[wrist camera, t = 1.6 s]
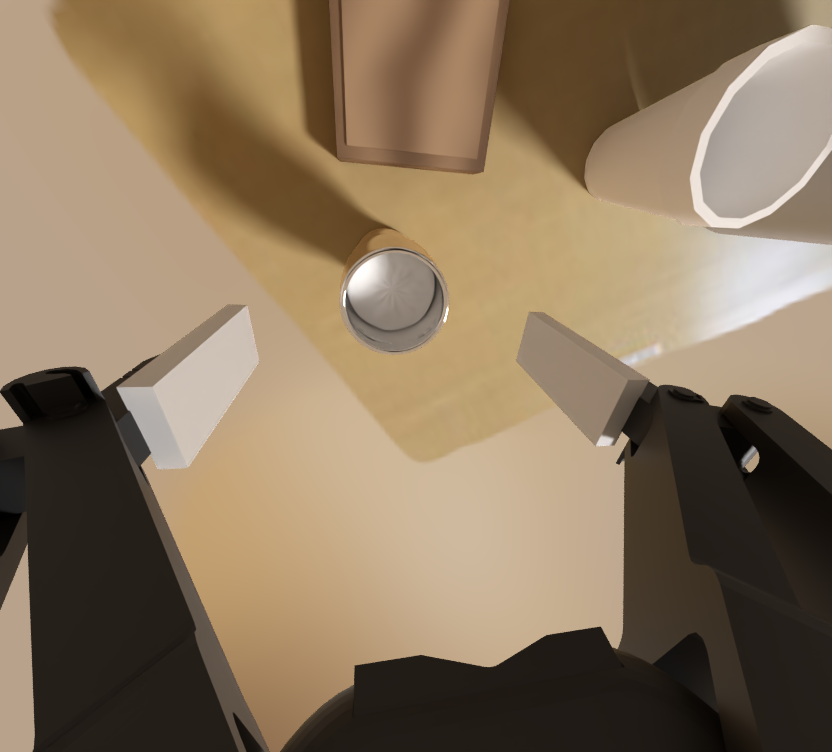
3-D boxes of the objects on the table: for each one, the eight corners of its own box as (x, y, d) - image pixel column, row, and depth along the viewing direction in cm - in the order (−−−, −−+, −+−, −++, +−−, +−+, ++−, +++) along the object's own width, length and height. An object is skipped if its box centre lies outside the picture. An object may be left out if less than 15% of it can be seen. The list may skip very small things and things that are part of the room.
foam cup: (574, 108, 26) (724, 42, 15) (675, 87, 26) (897, 6, 15) (565, 226, 31) (673, 242, 20) (650, 208, 31) (803, 214, 20)
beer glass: (358, 299, 32) (350, 365, 19) (343, 227, 28) (321, 251, 16) (421, 289, 32) (455, 349, 20) (414, 218, 29) (450, 234, 16)
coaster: (500, -25, 22) (519, -58, 19) (473, 174, 28) (484, 171, 25) (329, -60, 20) (323, -102, 17) (340, 161, 26) (336, 157, 23)
